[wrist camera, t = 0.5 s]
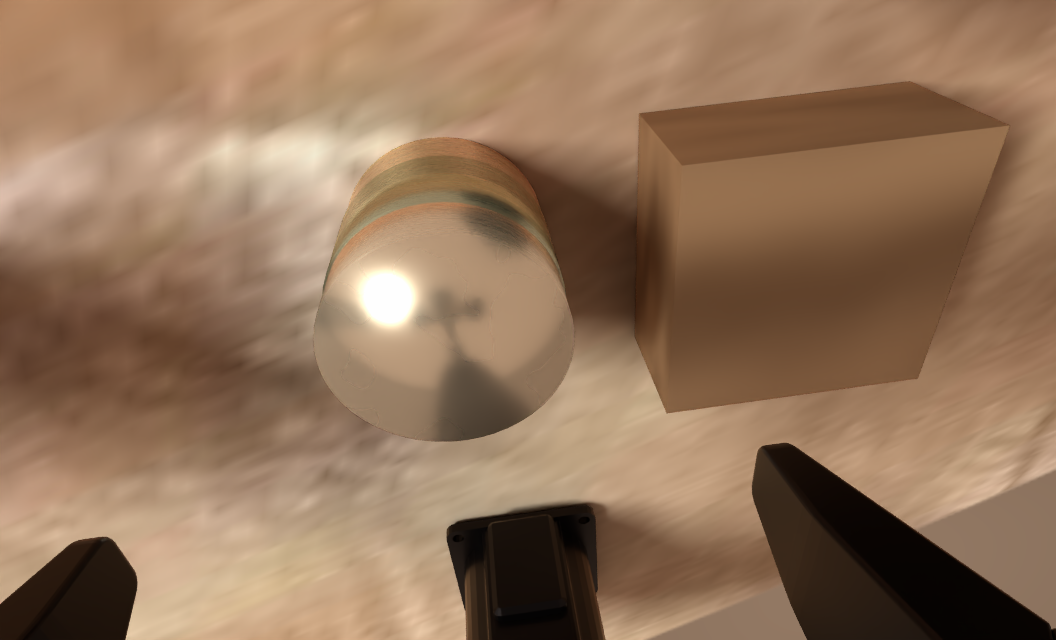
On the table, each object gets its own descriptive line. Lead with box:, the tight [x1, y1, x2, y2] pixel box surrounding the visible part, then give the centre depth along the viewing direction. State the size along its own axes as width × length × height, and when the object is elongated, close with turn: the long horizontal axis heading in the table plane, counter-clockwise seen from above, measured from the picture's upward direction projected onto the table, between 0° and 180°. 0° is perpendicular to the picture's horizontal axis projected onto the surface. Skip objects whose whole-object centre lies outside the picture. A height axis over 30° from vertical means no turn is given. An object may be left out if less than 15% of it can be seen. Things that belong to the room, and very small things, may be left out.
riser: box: [635, 82, 1010, 413], centre depth 19 cm, size 8×8×4 cm
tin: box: [313, 137, 575, 441], centre depth 17 cm, size 6×6×6 cm
